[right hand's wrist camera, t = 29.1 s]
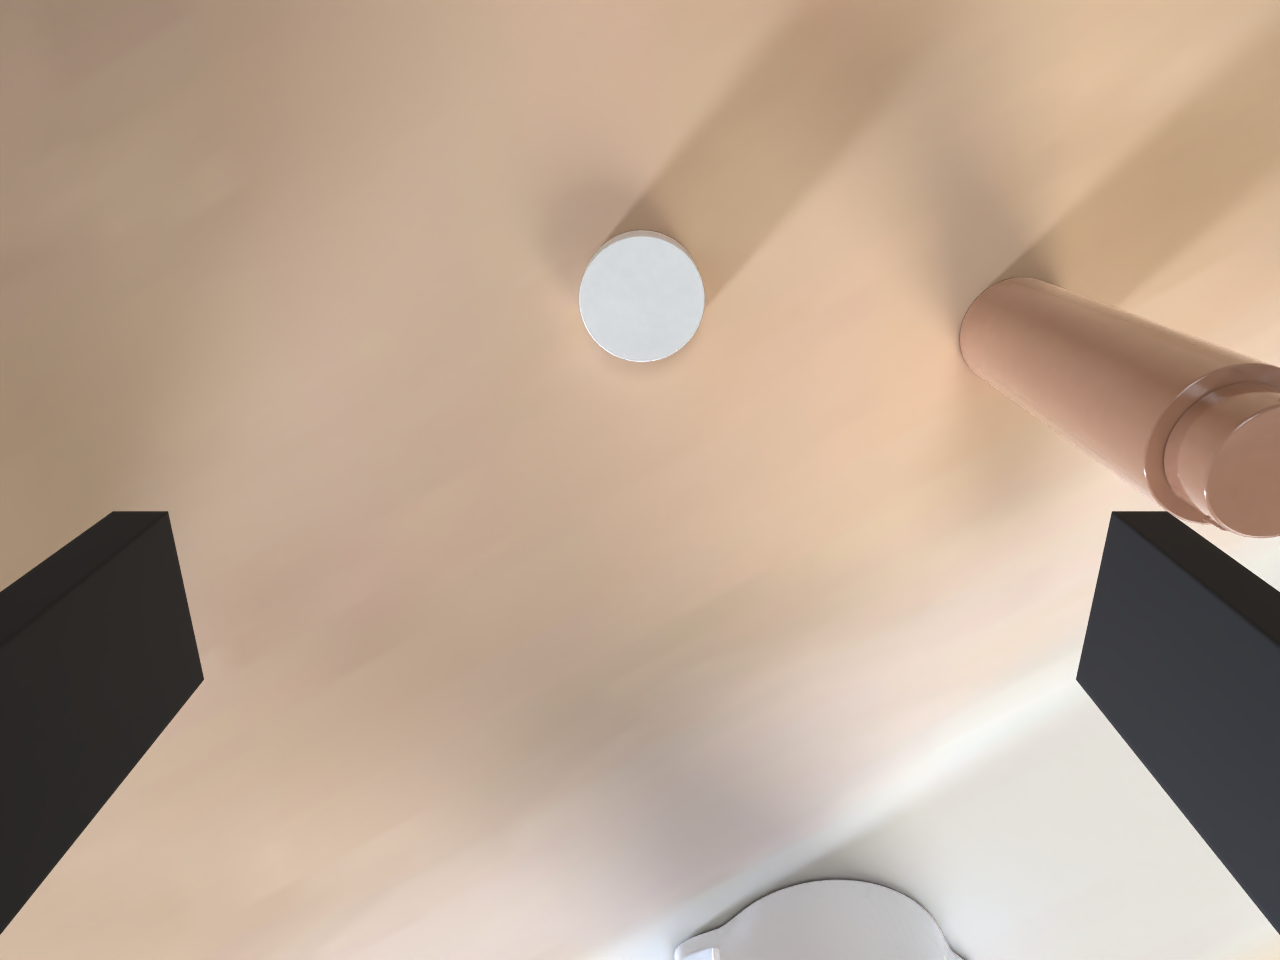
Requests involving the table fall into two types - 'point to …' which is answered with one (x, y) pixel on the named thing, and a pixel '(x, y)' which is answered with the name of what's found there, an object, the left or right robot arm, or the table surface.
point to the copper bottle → (1138, 399)
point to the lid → (641, 296)
